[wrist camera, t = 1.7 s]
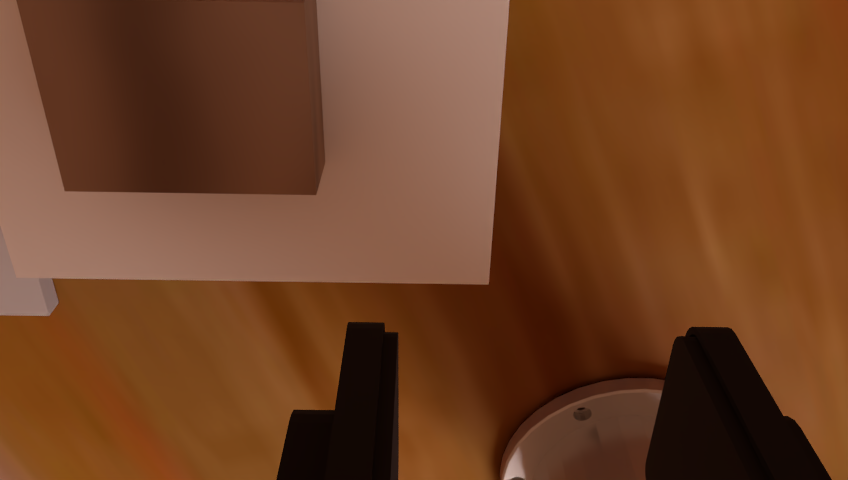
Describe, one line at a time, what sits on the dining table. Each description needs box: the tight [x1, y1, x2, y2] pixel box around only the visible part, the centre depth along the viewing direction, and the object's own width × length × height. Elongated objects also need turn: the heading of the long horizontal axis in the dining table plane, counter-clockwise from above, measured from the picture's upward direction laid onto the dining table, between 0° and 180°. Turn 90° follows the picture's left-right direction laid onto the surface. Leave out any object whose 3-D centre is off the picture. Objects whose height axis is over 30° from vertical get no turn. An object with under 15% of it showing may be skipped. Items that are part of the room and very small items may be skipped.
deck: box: [0, 0, 509, 285], centre depth 26 cm, size 18×16×4 cm
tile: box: [16, 0, 325, 195], centre depth 23 cm, size 8×6×2 cm
